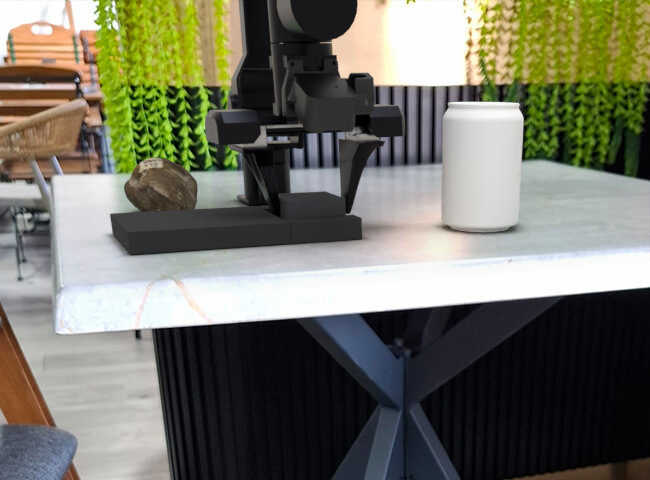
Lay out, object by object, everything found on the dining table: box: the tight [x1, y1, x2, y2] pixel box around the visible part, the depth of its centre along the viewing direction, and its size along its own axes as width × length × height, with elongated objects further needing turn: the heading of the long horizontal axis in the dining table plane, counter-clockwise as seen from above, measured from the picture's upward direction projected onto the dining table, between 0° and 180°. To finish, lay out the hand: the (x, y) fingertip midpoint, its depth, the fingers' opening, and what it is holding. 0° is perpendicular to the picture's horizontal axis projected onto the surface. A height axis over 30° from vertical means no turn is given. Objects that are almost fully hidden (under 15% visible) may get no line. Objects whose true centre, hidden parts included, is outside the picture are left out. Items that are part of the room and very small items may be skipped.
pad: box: [271, 191, 347, 219], centre depth 90 cm, size 6×6×4 cm
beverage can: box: [440, 101, 525, 233], centre depth 92 cm, size 8×8×12 cm
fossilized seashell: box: [123, 157, 199, 212], centre depth 100 cm, size 8×7×10 cm
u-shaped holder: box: [109, 204, 363, 256], centre depth 88 cm, size 12×22×2 cm, turn 114°
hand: (312, 216), depth 91 cm, fingers open, 7 cm apart
